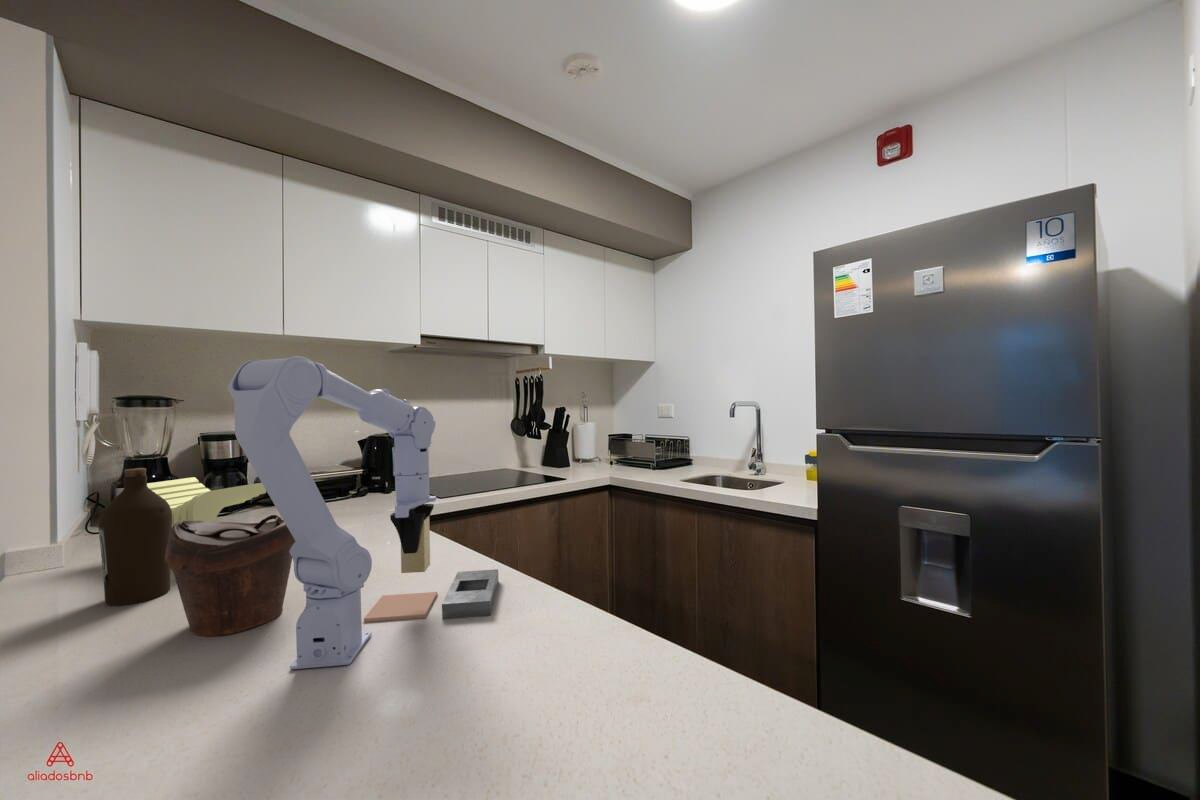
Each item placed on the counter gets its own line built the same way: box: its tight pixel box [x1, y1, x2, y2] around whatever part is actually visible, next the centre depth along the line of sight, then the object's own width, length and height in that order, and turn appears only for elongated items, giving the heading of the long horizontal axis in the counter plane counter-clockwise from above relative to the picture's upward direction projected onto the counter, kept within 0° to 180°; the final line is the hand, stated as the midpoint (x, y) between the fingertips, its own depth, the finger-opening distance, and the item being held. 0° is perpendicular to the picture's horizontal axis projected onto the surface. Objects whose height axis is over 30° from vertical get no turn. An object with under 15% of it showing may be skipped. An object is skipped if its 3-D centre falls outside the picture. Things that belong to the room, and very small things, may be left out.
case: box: [165, 514, 296, 637], centre depth 87 cm, size 18×20×18 cm
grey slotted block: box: [441, 569, 500, 620], centre depth 93 cm, size 16×8×2 cm, turn 7°
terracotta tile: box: [363, 591, 438, 623], centre depth 90 cm, size 10×10×1 cm
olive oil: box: [97, 467, 172, 606], centre depth 98 cm, size 11×11×25 cm
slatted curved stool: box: [147, 476, 267, 527], centre depth 124 cm, size 30×16×18 cm, turn 66°
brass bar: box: [400, 516, 431, 574], centre depth 90 cm, size 4×4×9 cm
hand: (413, 549), depth 90 cm, fingers closed on brass bar, 4 cm apart
